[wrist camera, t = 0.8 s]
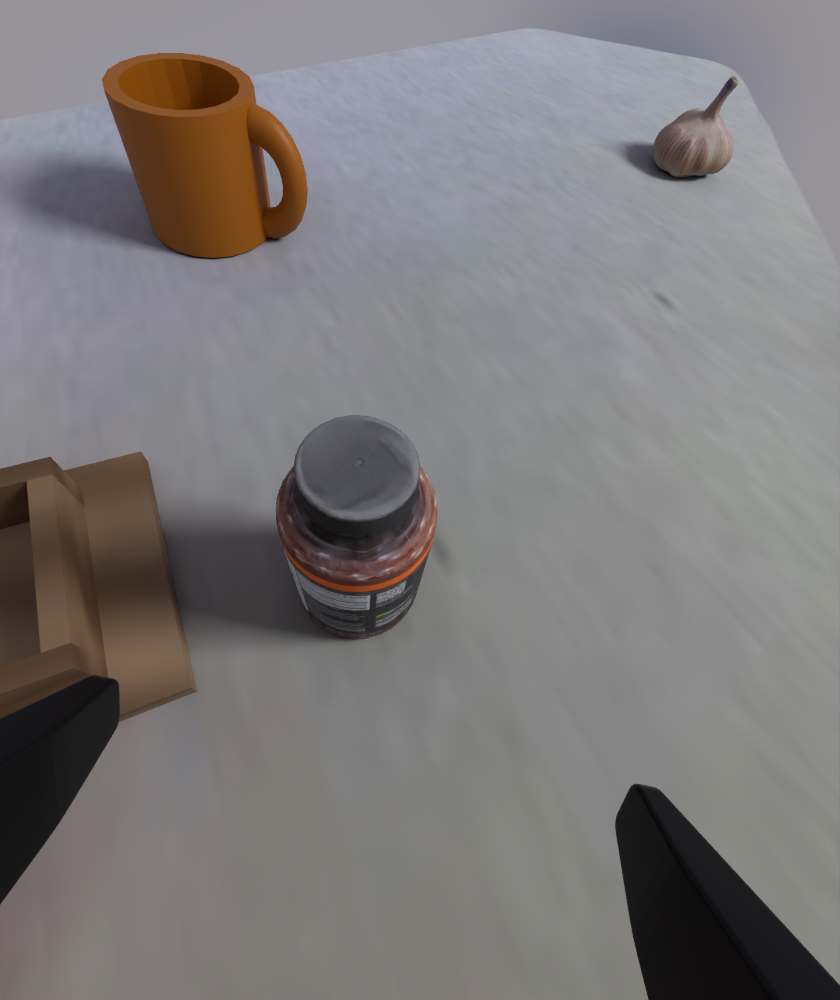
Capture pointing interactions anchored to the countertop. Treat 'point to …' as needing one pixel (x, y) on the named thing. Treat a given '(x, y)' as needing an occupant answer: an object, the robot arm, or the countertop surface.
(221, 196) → the mug
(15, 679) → the bottle stand
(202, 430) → the countertop surface
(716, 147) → the garlic bulb
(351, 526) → the supplement bottle
